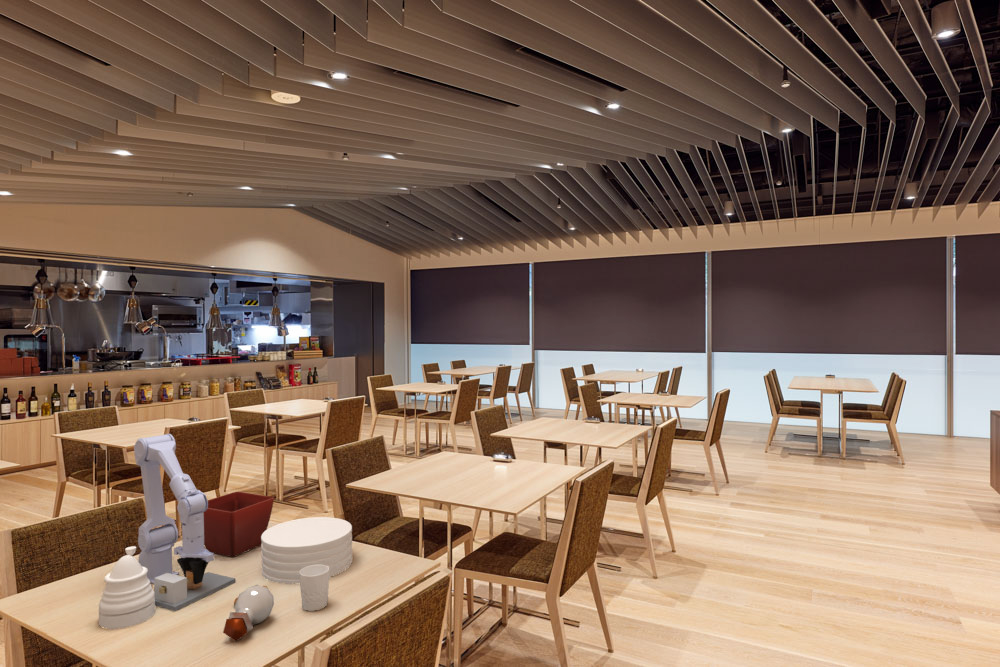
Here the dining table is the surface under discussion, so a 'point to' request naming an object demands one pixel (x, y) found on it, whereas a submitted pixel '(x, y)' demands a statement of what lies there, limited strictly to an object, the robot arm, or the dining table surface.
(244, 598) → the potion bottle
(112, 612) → the honey pot
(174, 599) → the block
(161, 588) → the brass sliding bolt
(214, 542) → the plant pot
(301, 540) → the plate stack
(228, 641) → the dining table surface
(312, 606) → the white cup
